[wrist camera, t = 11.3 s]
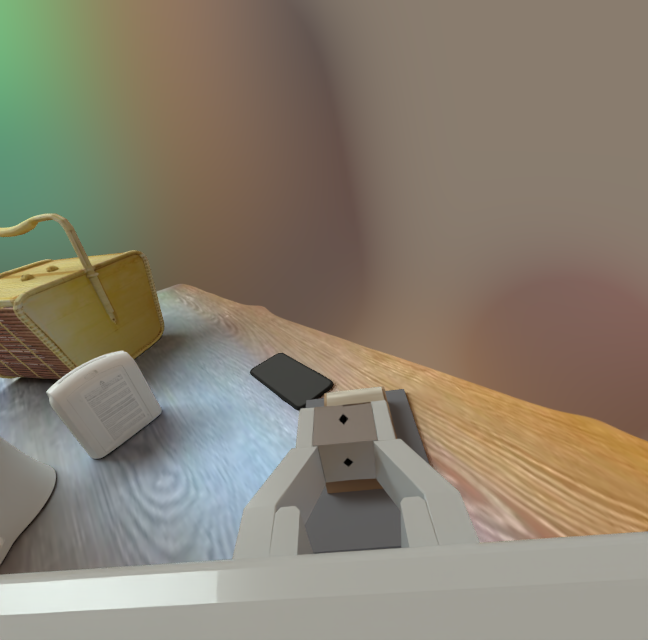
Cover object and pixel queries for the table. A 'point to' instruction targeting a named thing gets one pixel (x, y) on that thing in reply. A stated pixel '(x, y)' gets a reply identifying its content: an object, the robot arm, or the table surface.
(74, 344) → the picnic basket
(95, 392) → the photo printer
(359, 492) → the mat
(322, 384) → the smartphone
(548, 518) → the table surface
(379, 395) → the wooden block
